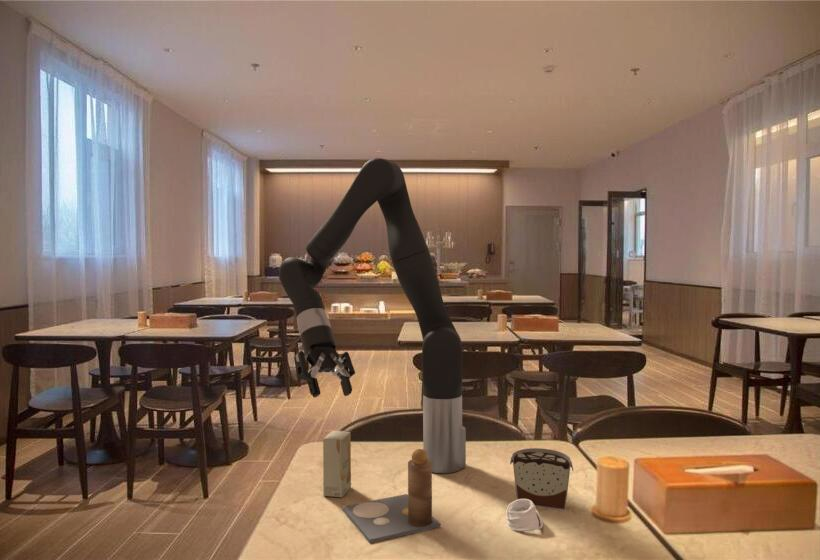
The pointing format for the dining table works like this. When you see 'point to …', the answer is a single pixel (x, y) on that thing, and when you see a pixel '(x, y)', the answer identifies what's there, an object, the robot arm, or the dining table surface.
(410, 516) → the walnut tube
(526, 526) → the white crumpled cloth
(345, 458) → the skincare box
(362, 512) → the card
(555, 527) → the dining table surface
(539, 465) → the food container
